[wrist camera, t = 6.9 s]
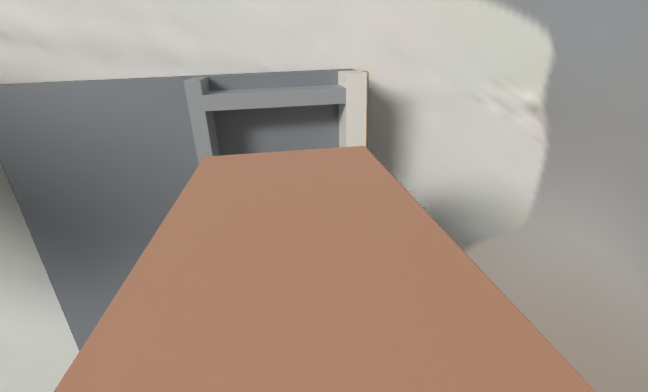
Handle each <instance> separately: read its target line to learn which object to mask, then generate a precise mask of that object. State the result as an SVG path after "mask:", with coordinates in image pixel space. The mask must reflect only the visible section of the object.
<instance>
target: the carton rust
mask: <svg viewBox="0 0 648 392" xmlns="http://www.w3.org/2000/svg"><path fill="white" fill-rule="evenodd" d="M54 392H595V391H594V390H593V389H592V387H591V386H590V385H589V384H588V383H587V382H586V381H585V380H584V379H583V378H582V377H581V376H580V375H579V374H578V373H577V371H576V370H574V368H573V367H572V366H571V365H570V364H569V363H568V362H567V361H566V360H565V359H564V358H563V357H562V356H561V355H560V354H559V352H558V351H557V350H556V349H555V348H554V347H553V346H552V345H551V344H550V343H549V342H548V341H547V340H546V338H545V337H544V336H543V335H542V334H541V333H540V332H539V331H538V330H537V329H536V328H535V327H534V326H533V325H532V324H531V323H530V321H529V320H528V319H527V318H526V317H525V316H524V315H523V314H522V313H521V312H520V311H519V310H518V309H517V308H516V307H515V305H514V304H512V302H511V301H510V300H509V299H508V298H507V297H506V296H505V295H504V294H503V293H502V292H501V291H500V290H499V288H498V287H497V286H496V285H495V284H494V283H493V282H492V281H491V280H490V279H489V278H488V277H487V276H486V275H485V274H484V273H483V271H482V270H481V269H480V268H479V267H478V266H477V265H476V264H475V263H474V262H473V261H472V260H471V259H470V258H469V256H467V254H466V253H465V252H464V251H463V250H462V249H461V248H460V247H459V246H458V245H457V244H456V243H455V242H454V241H453V239H452V238H451V237H450V236H449V235H448V234H447V233H446V232H445V231H444V230H443V229H442V228H441V227H440V226H439V225H438V223H437V222H436V221H435V220H434V219H433V218H432V217H431V216H430V215H429V214H428V213H427V212H426V211H425V210H424V209H423V208H422V206H421V205H420V204H419V203H418V202H417V201H416V200H415V199H414V198H413V197H412V196H411V195H410V194H409V193H408V192H407V191H406V189H405V188H404V187H403V186H402V185H401V184H400V183H399V182H398V181H397V180H396V179H395V178H394V177H393V176H392V175H391V173H390V172H389V171H388V170H387V169H386V168H385V167H384V166H383V165H382V164H381V163H380V162H379V161H378V160H377V159H376V158H375V156H374V155H373V154H372V153H371V152H370V151H369V150H368V149H367V148H366V147H365V146H352V147H337V148H323V149H308V150H294V151H279V152H264V153H250V154H235V155H221V156H206V157H204V158H203V160H202V161H201V163H200V164H199V166H198V167H197V169H196V170H195V172H194V174H193V175H192V177H191V178H190V180H189V181H188V183H187V185H186V186H185V188H184V189H183V191H182V192H181V194H180V195H179V197H178V199H177V200H176V202H175V203H174V205H173V206H172V208H171V210H170V211H169V213H168V214H167V216H166V217H165V219H164V220H163V222H162V224H161V225H160V227H159V228H158V230H157V231H156V233H155V235H154V236H153V238H152V239H151V241H150V242H149V244H148V245H147V247H146V249H145V250H144V252H143V253H142V255H141V256H140V258H139V260H138V261H137V263H136V264H135V266H134V267H133V269H132V270H131V272H130V274H129V275H128V277H127V278H126V280H125V281H124V283H123V285H122V286H121V288H120V289H119V291H118V292H117V294H116V295H115V297H114V299H113V300H112V302H111V303H110V305H109V306H108V308H107V310H106V311H105V313H104V314H103V316H102V317H101V319H100V320H99V322H98V324H97V325H96V327H95V328H94V330H93V331H92V333H91V335H90V336H89V338H88V339H87V341H86V342H85V344H84V345H83V347H82V349H81V350H80V352H79V353H78V355H77V356H76V358H75V360H74V361H73V363H72V364H71V366H70V367H69V369H68V370H67V372H66V374H65V375H64V377H63V378H62V380H61V381H60V383H59V385H58V386H57V388H56V389H55V391H54Z"/></svg>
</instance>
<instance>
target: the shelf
mask: <svg viewBox="0 0 648 392" xmlns="http://www.w3.org/2000/svg"><path fill="white" fill-rule="evenodd" d="M368 75H369V72H368V71H358V70H354V69H337V70H314V71H292V72H269V73H246V74H223V75H201V76H178V77H155V78H132V79H110V80H87V81H64V82H41V83H19V84H0V160H1V163H2V165H3V168H4V170H5V173H6V175H7V177H8V180H9V182H10V185H11V187H12V189H13V192H14V194H15V197H16V199H17V201H18V204H19V206H20V209H21V211H22V214H23V216H24V218H25V221H26V223H27V226H28V228H29V230H30V233H31V235H32V238H33V240H34V242H35V245H36V247H37V250H38V252H39V255H40V257H41V259H42V262H43V264H44V267H45V269H46V271H47V274H48V276H49V279H50V281H51V284H52V286H53V288H54V291H55V293H56V296H57V298H58V300H59V303H60V305H61V308H62V310H63V312H64V315H65V317H66V320H67V322H68V325H69V327H70V329H71V332H72V334H73V337H74V339H75V341H76V344H77V346H78V349H79V351H80V350H81V349H82V347H83V345H84V344H85V342H86V341H87V339H88V338H89V336H90V335H91V333H92V331H93V330H94V328H95V327H96V325H97V324H98V322H99V320H100V319H101V317H102V316H103V314H104V313H105V311H106V310H107V308H108V306H109V305H110V303H111V302H112V300H113V299H114V297H115V295H116V294H117V292H118V291H119V289H120V288H121V286H122V285H123V283H124V281H125V280H126V278H127V277H128V275H129V274H130V272H131V270H132V269H133V267H134V266H135V264H136V263H137V261H138V260H139V258H140V256H141V255H142V253H143V252H144V250H145V249H146V247H147V245H148V244H149V242H150V241H151V239H152V238H153V236H154V235H155V233H156V231H157V230H158V228H159V227H160V225H161V224H162V222H163V220H164V219H165V217H166V216H167V214H168V213H169V211H170V210H171V208H172V206H173V205H174V203H175V202H176V200H177V199H178V197H179V195H180V194H181V192H182V191H183V189H184V188H185V186H186V185H187V183H188V181H189V180H190V178H191V177H192V175H193V174H194V172H195V170H196V169H197V167H198V166H199V164H200V163H201V161H202V160H203V158H204V157H206V156H221V155H235V154H250V153H264V152H279V151H294V150H308V149H323V148H337V147H352V146H365V147H366V148H367V141H368Z"/></svg>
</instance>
